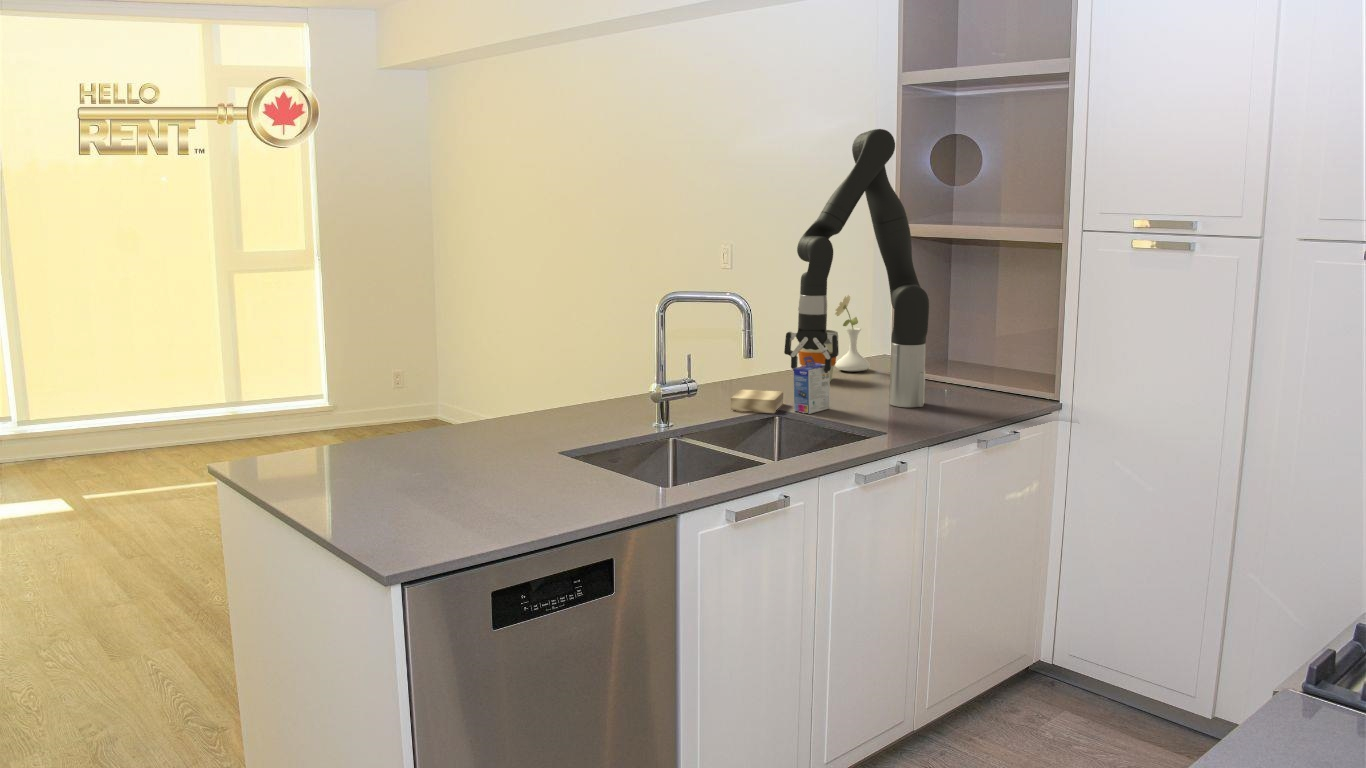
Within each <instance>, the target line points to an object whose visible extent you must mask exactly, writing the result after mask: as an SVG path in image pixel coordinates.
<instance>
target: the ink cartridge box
mask: <svg viewBox="0 0 1366 768" xmlns="http://www.w3.org/2000/svg"><path fill="white" fill-rule="evenodd" d="M808 359H810V360H812V362H807V360H808ZM804 361H805V364H806V365H805V366H797V368H794V371H793V393H794V394H793V398H794V404H793V406H794V412H795V411H799V412H804V413H808V414H807V415H810V414H814V413H817V412H822V411H825V410H828V409H830V408H831V407H830V406H831V405H830V401H831V400H830V399H831V398H830V395H831V394H830V393H831V392H830V391H831V388H830V384H831V383H830V382H831V381H830V371H828V373H825V364H819V363H814V360H813V358H812V357H811V356H810V357H805V358H804ZM799 412H798V413H799ZM804 413H803V414H804Z"/></svg>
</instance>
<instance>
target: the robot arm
mask: <svg viewBox="0 0 1366 768" xmlns="http://www.w3.org/2000/svg"><path fill="white" fill-rule="evenodd" d="M851 149H852V150H851V152H852V157H853V160H854V163H855V164H854V166H853V168H852V169H851V171H850V172H849V173H848V174H847V176H846V178H845V179H843V181H842V182H841V183H840V184H839V186H838V187H837V188H836V190H834V192H833V193H832V194H831V196H830V197H829V198H828V200H827V201H826V203H825V204H824V207H823V208H822V210H821V212H820V214H819V216H818V217H817V219H816V220H815V221H813V223H812V224H811V225H810V226H809V227H808V228H807V230H805V232H804V233H803V234H802V235H801V237H800V239H799V241H798V244H797V246H796V247H797V248H796V252H797V255H798V257H799V258H800V260H802V261H803V262H807V263H808V267H807V271H806V272H804V273H802V274H801V277H800V288H799V289H800V290H799V300H798V307H797V308H798V310H797V311H798V322H797V332H793V331H788V332H786V334H785V342H784V351H783V352H784V353H783V354H785V355H787V356H790V357H791V359H790V368H791V369H792V370H793V372H794V368H797V367H798V361H799V360H798V359H799V356H798V355H799V351H800V350H801V349H802V348H804V349H813V350H817V349H820V351H821V352H822V353H823V354H824V356H825V357H826V359H825V373H828V371H830V369H831V359H832V358H834V357H836V358H837V357H838V356H839V354H840V353H839V335H838V334H834V335H828V334H827V332H826V330H827V326H828V324H827V321H828V320H827V319H828V294H827V293H828V277H829V275H830V272H831V267H832V264H833V261H834V260H833V259H834V248H833V247H834V246H833V243H832V242H831V240H830V238H831V237H833V236H836V235H839V234H840V232H841V231H842V230H843V228H844V227H845V225H846V224H847V221H848V220H849V218H850V217H851V215H852V214H853V213H852V212H853V211H854V209H855V207H856V206H857V204H858V202H859V201H860V200H861V198H862V197H863V195H864V193H865V198H866V202H867V206H868V210H869V214H870V218H871V223H872V224H871V225H872V227H873V231H874V235H875V239H876V243H877V246H878V249H879V252H880V255H881V258H882V262H883V264H884V266H885V269H886V273H887V274H886V275H887V278H888V287H889V294H890V302H891V307H892V308H893V325H892V326H893V327H892V331H891V337H890V338H891V343H890V348H891V349H890V372H889V373H890V374H889V375H890V376H889V405H891V406H893V407H898V408H899V407H900V408H923V407H924V404H925V395H926V394H925V391H926V389H925V387H926V346H927V345H926V342H927V335H928V332H929V331H928V330H929V315H930V314H929V313H930V299H929V295H928V293H927V292H926V290H925V289H923V287H922V286H921V284H920V282H919V280H918V277H917V273H916V271H915V268H914V267H915V266H914V262H913V253H912V252H913V251H912V250H913V249H912V248H913V247H912V234H911V228H910V225H909V220H908V216H907V212H906V209H905V207H904V205H903V203H902V201H901V199H900V198H899V196H898V195H897V193H896V192H895V190H894V189H893V187H892V185H891V183H890V181H889V176H888V174H887V170H886V164H887V163H888V162H889V160H891V158H892V157H893V155H894V152H895V150H896V141H895V138H894V136H893V134H892V133H891V132H889V131H888V130H886V129H884V128H883V129H882V128H875V129H871V130H868V131H866V132H865V131H864V132H863V133H860V134H858V135H857V136H856V137H855V138H854V140H853V142H852V148H851ZM795 338H796V340H797V342H798V341H799V342H798V344H797V346H796V347H795V348H794V350H792V342H793V341H794V339H795ZM827 339H829V340H830V342H831V343H832V349H833V353H830V352H829V350H828V348H827V347H826V345H825V344H824V343H825V341H826V340H827ZM823 346H824V347H823Z"/></svg>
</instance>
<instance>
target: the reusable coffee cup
mask: <svg viewBox="0 0 1366 768" xmlns="http://www.w3.org/2000/svg"><path fill="white" fill-rule="evenodd" d="M826 332H827V334H828V335H834V334H838V331H836V330H833V329H832V330H831V329H826ZM797 342H798V343H799V341H798V340H797ZM824 344H825V345H826V347H827V348H828V350H829V352H830V353H833V349H832V343H831V342H830V340H829V339H827V340H826V341H825V343H824ZM823 347H824V346H823ZM810 356H811V357H812V358H813V360H814V363H819V364H825V359H826V357H825V356H824V354H823V353H822V352H821V351H820V349H817V350H813V349H804V348H802V349H801V350H800V351H799V353H798V359H799V360H798V361H799V364H800V365H801V366H805V365H806V364H805V361H804V358H805V357H810ZM807 362H812V360H810V359H808V360H807ZM836 362H837V357H834V358H832V359H831V369H830V382H831V381H832V380H833V372H834V368H835V364H836ZM801 366H800V367H801Z"/></svg>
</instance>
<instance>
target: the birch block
mask: <svg viewBox="0 0 1366 768" xmlns="http://www.w3.org/2000/svg"><path fill="white" fill-rule="evenodd" d="M782 404H783V405H784V391H782V390H781V391H779V390H777V391H776V390H761V389H760V390H759V389H744V388H743V389H740V390H739V391H737V392H736V393H735V394H734V395H732V396H731V397H730V411H731V410H736V411H735V412H743V411H755V412H754V413H765V414H776V412H777V411H778V410H779V409H780V408H781V407H782V406H783V405H782ZM781 405H782V406H781ZM780 406H781V407H780ZM779 407H780V408H779ZM778 408H779V409H778ZM777 409H778V410H777ZM776 410H777V411H776Z"/></svg>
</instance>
